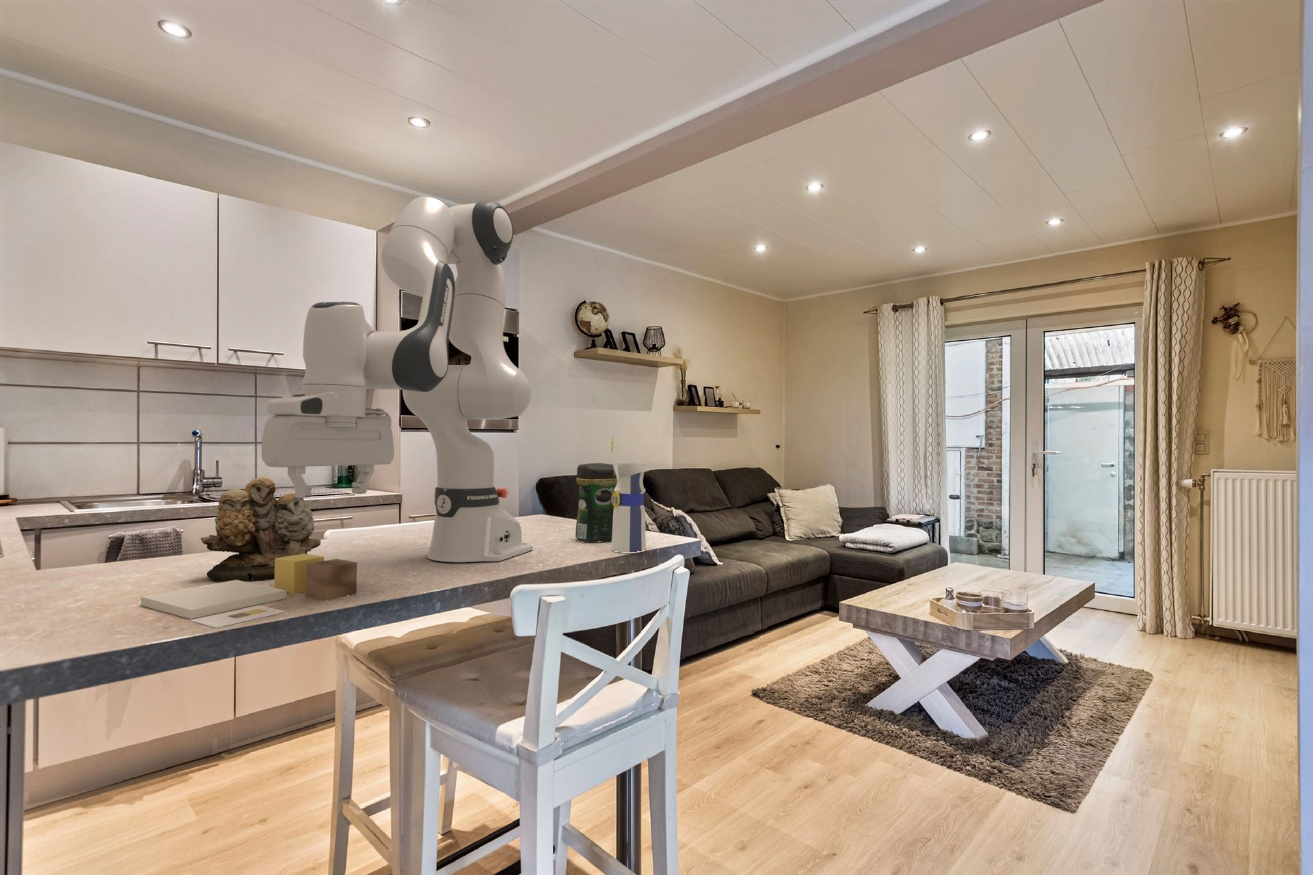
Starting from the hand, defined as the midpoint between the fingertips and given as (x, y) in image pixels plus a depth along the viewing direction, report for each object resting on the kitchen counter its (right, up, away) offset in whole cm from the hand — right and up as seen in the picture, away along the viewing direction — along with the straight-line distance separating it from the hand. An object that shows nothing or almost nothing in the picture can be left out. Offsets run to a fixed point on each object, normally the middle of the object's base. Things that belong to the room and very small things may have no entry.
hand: (332, 495), depth 101 cm
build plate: (-14, -15, -5) cm, 21 cm away
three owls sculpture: (-19, -15, +14) cm, 28 cm away
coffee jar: (+35, -16, +57) cm, 69 cm away
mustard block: (-7, -15, +4) cm, 17 cm away
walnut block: (0, -15, 0) cm, 15 cm away
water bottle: (+44, -16, +44) cm, 64 cm away
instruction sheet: (-6, -15, -12) cm, 21 cm away
